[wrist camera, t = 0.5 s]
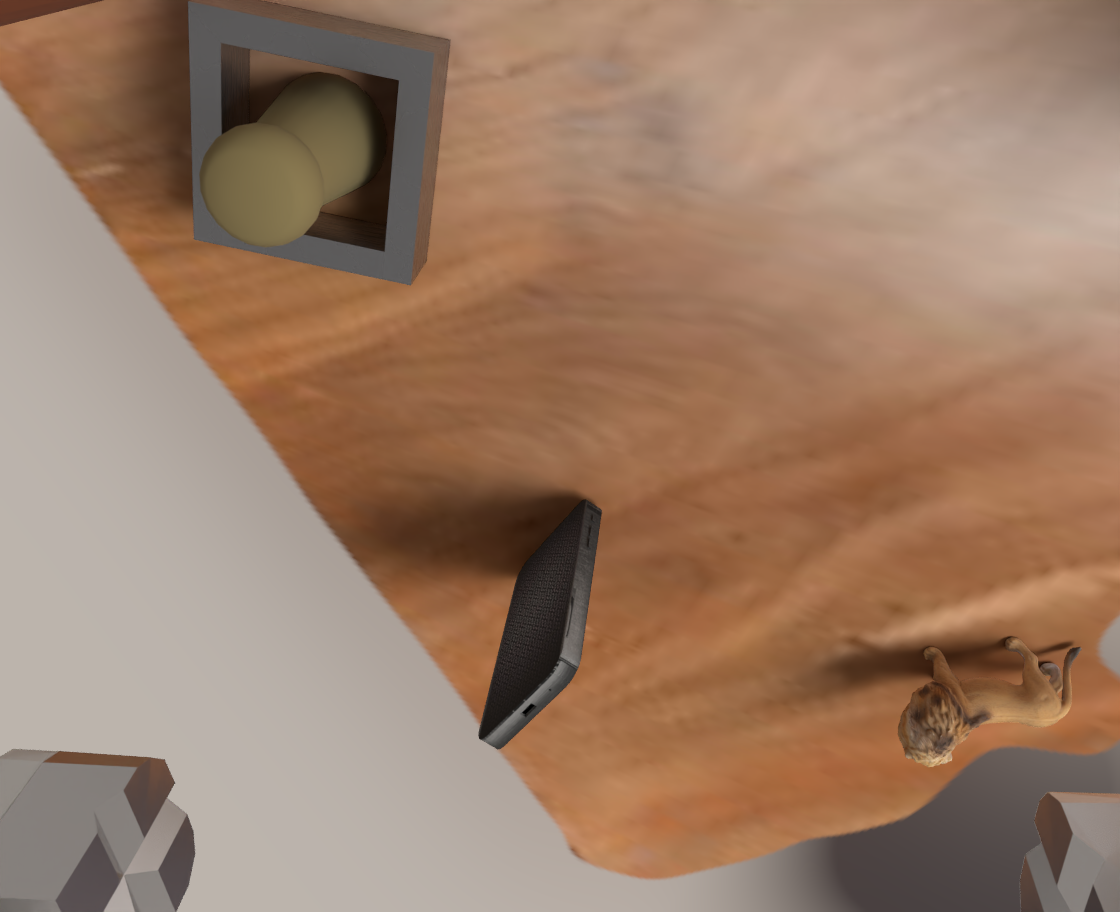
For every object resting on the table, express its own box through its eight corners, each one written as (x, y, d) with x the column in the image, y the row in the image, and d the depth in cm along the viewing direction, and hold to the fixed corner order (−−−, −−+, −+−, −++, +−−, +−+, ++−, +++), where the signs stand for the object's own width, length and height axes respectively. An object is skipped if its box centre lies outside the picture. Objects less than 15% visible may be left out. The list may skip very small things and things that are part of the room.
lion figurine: (891, 700, 66) (912, 788, 60) (877, 654, 64) (897, 739, 58) (1082, 666, 63) (1125, 754, 57) (1073, 615, 61) (1116, 701, 55)
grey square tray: (219, -9, 48) (187, 1, 45) (450, 40, 48) (434, 52, 45) (221, 218, 54) (193, 239, 51) (426, 261, 54) (410, 285, 51)
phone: (532, 578, 64) (492, 757, 52) (518, 569, 64) (474, 747, 51) (604, 500, 60) (580, 673, 48) (589, 491, 60) (561, 662, 48)
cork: (252, 147, 51) (155, 212, 42) (303, 46, 49) (210, 92, 39) (352, 215, 53) (280, 293, 43) (408, 120, 50) (342, 182, 41)
